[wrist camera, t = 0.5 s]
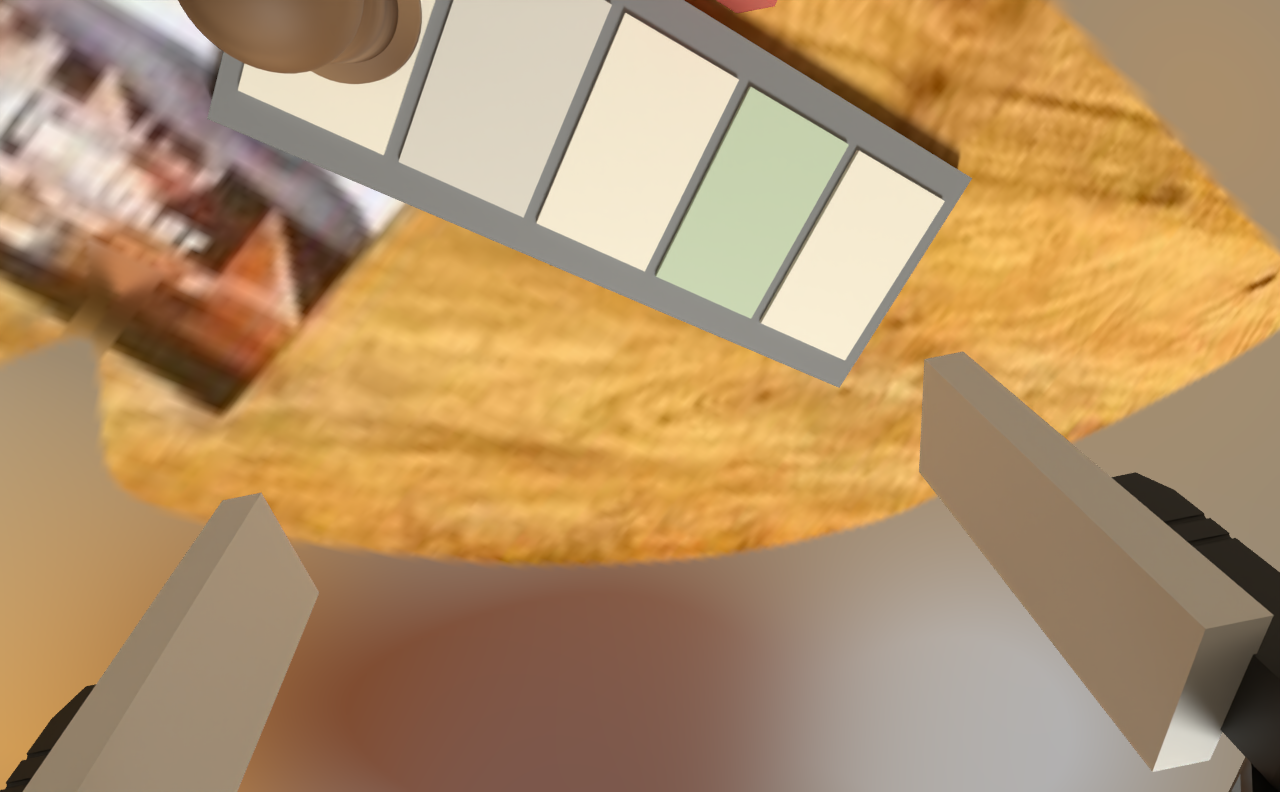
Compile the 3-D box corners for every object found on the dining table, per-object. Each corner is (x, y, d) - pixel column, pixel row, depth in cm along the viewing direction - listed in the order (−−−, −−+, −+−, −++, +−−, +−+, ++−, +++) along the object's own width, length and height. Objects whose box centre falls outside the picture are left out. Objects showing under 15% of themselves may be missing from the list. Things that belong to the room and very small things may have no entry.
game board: (301, -230, 23) (291, -245, 22) (959, 175, 34) (975, 179, 33) (216, 116, 27) (204, 119, 26) (831, 380, 38) (841, 389, 36)
